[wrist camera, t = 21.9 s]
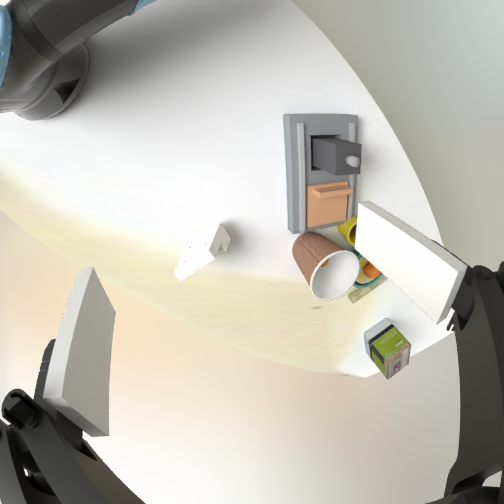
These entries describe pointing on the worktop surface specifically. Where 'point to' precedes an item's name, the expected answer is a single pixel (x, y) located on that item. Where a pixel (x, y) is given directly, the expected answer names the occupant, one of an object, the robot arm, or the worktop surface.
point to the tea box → (387, 348)
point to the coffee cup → (330, 276)
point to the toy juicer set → (368, 272)
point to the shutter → (327, 202)
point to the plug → (335, 155)
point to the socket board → (299, 162)
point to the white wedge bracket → (202, 250)
